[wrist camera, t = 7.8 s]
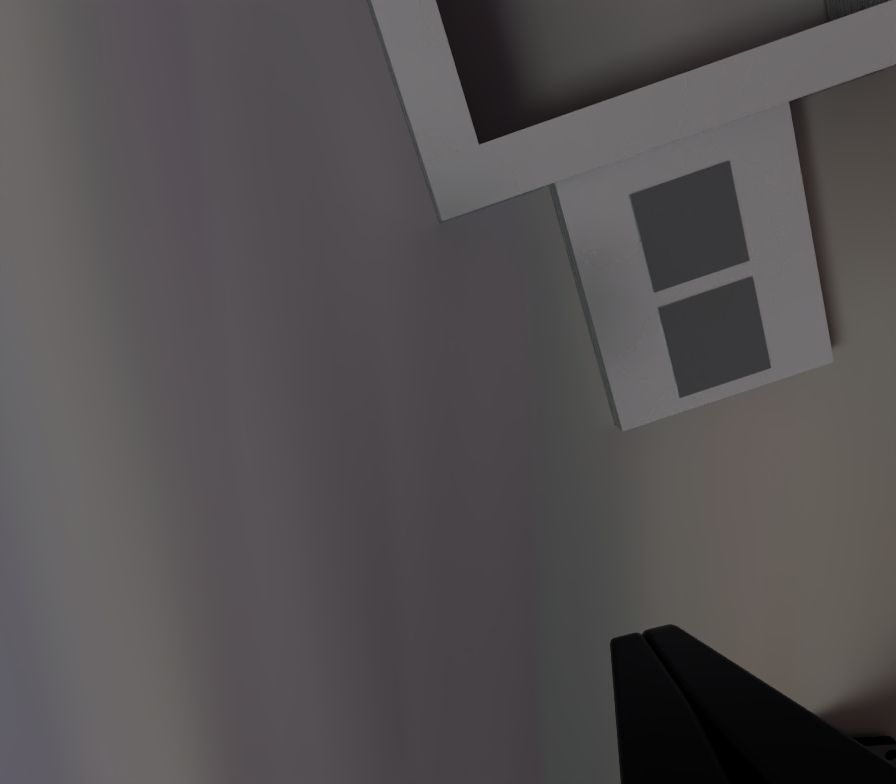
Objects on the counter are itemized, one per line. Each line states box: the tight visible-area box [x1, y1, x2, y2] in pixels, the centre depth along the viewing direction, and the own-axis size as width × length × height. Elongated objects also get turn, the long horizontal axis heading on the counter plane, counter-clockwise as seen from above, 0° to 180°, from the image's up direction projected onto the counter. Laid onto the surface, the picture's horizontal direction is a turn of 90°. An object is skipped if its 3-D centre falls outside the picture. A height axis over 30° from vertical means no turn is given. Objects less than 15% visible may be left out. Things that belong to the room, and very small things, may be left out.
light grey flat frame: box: [367, 0, 896, 431], centre depth 16 cm, size 22×14×2 cm, turn 19°
